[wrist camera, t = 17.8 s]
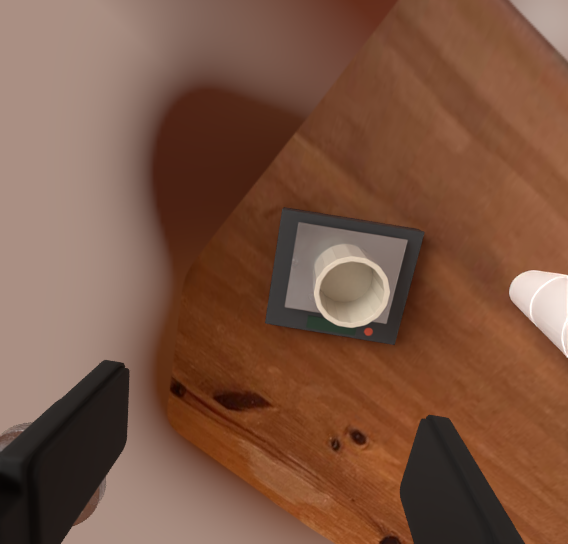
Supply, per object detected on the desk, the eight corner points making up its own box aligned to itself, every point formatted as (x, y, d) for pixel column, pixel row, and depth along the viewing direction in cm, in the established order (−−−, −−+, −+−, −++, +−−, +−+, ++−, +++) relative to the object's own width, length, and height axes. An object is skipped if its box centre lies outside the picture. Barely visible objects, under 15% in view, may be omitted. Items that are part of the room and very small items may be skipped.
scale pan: (284, 304, 41) (284, 307, 40) (298, 221, 38) (298, 222, 38) (384, 321, 41) (386, 324, 40) (405, 238, 38) (407, 239, 37)
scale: (267, 315, 45) (264, 323, 42) (283, 207, 41) (282, 209, 38) (389, 336, 44) (394, 345, 42) (417, 228, 41) (425, 232, 38)
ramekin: (307, 298, 40) (308, 321, 34) (318, 239, 38) (321, 251, 32) (368, 308, 40) (380, 332, 33) (382, 249, 38) (397, 263, 32)
